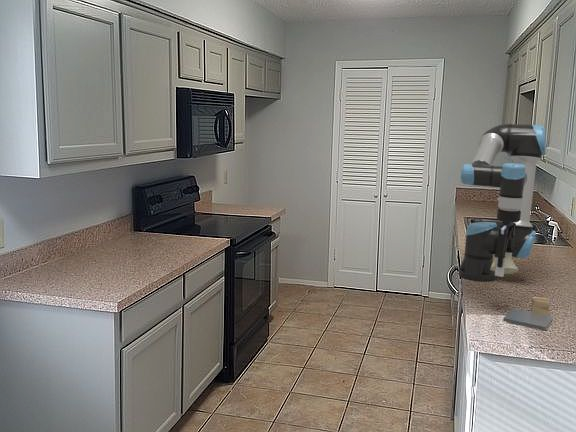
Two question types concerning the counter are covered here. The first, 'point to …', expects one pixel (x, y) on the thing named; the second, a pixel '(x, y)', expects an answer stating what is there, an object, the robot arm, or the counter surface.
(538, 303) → the oak block
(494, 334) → the counter surface
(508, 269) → the seashell
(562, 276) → the counter surface
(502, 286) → the counter surface
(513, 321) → the plate
